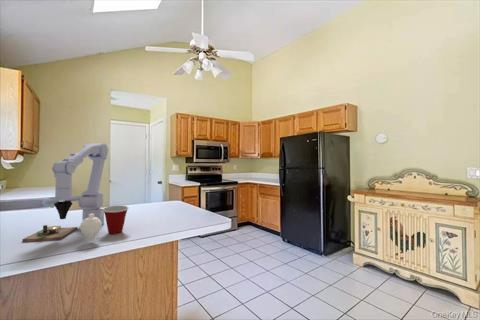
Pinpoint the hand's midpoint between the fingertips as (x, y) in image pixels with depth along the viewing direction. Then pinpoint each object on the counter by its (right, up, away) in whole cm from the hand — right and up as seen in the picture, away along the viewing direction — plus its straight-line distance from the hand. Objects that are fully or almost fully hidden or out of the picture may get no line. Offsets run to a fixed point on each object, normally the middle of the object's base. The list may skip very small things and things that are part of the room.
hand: (62, 218), depth 103 cm
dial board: (-7, -8, +3) cm, 11 cm away
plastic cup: (+19, -9, +8) cm, 22 cm away
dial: (-7, -5, +1) cm, 9 cm away
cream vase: (+16, -9, -6) cm, 19 cm away
